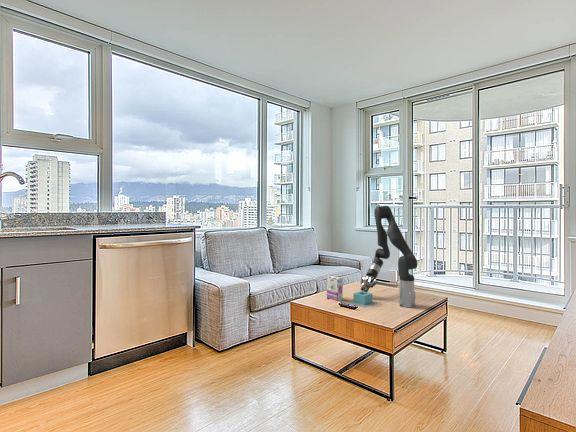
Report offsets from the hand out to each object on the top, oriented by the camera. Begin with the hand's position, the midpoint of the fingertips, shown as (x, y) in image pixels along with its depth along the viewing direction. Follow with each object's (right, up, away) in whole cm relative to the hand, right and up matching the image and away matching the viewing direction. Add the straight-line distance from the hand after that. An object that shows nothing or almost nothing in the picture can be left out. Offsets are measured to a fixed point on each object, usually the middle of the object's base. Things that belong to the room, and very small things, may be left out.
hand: (363, 290), depth 236 cm
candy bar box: (-21, -7, -1) cm, 22 cm away
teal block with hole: (-3, -6, -9) cm, 11 cm away
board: (-3, -7, -10) cm, 13 cm away
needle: (+2, -6, +2) cm, 7 cm away
